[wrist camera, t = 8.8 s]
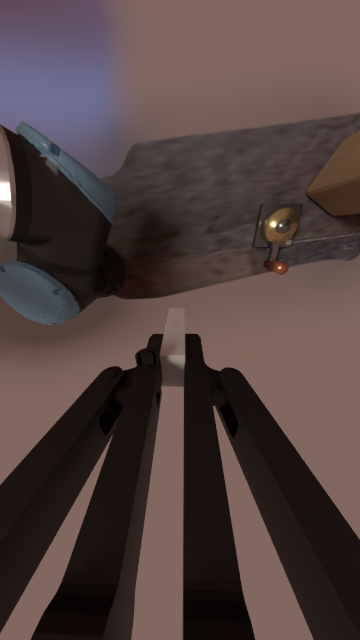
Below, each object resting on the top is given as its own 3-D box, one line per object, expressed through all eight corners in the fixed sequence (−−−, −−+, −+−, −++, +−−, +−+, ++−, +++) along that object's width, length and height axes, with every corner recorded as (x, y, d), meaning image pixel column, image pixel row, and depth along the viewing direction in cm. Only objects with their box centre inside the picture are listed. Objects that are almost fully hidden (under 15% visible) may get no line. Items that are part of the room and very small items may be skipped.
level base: (252, 246, 41) (255, 247, 39) (260, 204, 37) (265, 203, 35) (286, 246, 41) (292, 247, 39) (299, 204, 36) (306, 202, 34)
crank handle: (280, 267, 42) (296, 274, 36) (254, 268, 43) (265, 274, 36) (297, 208, 36) (320, 203, 30) (266, 209, 36) (282, 205, 30)
